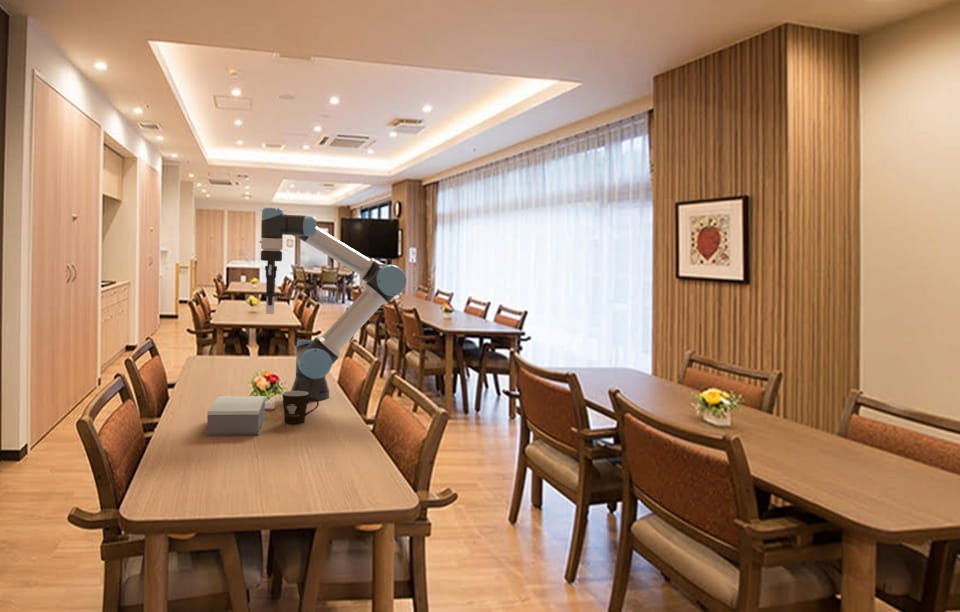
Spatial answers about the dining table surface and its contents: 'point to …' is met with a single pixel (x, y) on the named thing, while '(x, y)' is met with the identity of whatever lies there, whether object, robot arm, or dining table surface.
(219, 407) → the box lid
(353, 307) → the robot arm
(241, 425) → the open storage box
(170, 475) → the dining table surface
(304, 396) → the coffee mug
